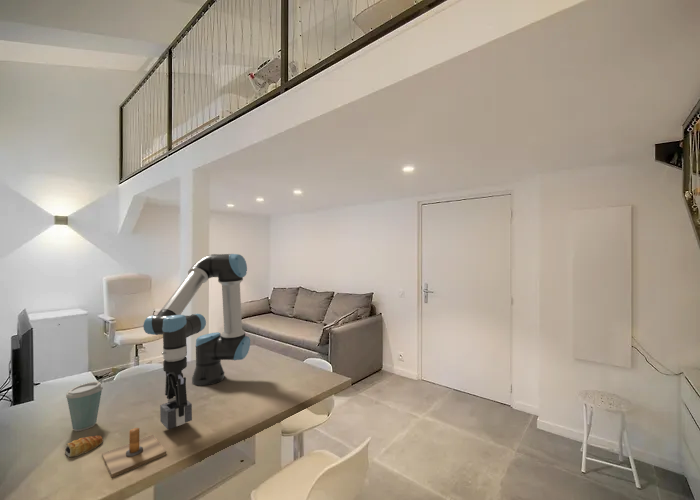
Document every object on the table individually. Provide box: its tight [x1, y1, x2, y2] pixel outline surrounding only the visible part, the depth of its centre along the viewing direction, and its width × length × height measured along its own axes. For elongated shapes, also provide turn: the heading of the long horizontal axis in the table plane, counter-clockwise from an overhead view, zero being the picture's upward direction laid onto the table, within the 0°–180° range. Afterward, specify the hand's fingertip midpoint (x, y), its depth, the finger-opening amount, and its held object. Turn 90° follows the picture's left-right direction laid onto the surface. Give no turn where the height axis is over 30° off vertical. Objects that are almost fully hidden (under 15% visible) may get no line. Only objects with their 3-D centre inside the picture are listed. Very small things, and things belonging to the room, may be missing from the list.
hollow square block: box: [159, 399, 193, 430], centre depth 113 cm, size 8×8×6 cm
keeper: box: [101, 427, 167, 478], centre depth 98 cm, size 14×14×8 cm
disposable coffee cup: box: [65, 380, 103, 432], centre depth 116 cm, size 11×11×15 cm
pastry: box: [64, 434, 104, 458], centre depth 102 cm, size 9×7×4 cm
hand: (176, 419), depth 113 cm, fingers closed on hollow square block, 8 cm apart
